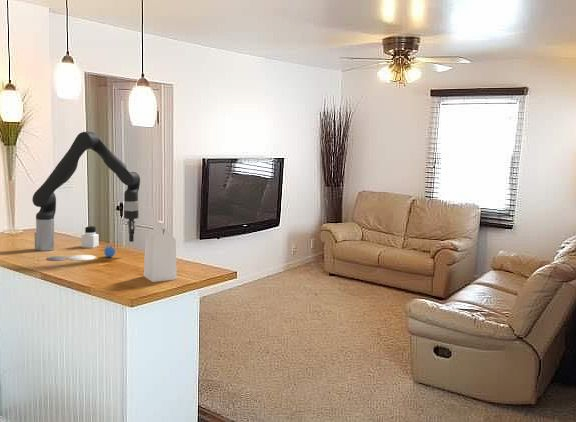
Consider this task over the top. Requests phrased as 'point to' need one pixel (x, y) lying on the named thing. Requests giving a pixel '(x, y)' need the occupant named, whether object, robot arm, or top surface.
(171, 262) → the milk
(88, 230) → the medicine bottle
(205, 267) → the top surface
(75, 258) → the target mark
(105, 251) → the ball
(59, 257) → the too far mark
